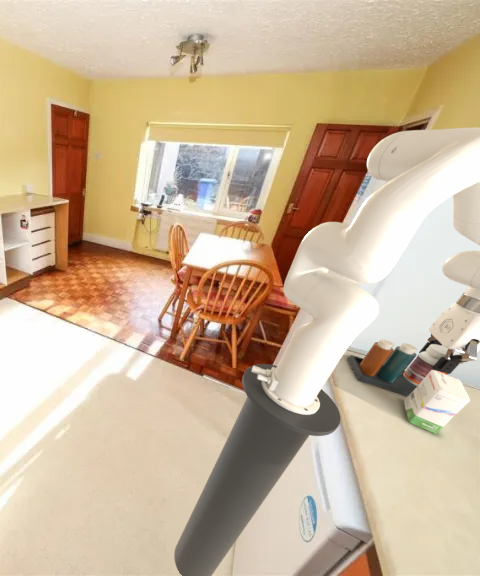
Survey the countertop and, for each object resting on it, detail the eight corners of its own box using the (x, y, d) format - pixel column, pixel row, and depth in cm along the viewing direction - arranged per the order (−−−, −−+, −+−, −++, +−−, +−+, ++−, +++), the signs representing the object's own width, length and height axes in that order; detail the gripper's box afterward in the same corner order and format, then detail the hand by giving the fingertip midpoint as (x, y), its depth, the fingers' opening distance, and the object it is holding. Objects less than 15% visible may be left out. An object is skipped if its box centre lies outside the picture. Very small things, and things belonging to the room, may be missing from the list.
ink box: (436, 435, 63) (473, 400, 57) (407, 422, 66) (439, 387, 60) (429, 412, 69) (461, 379, 63) (402, 401, 71) (431, 368, 66)
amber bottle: (359, 373, 79) (380, 343, 74) (355, 364, 82) (375, 335, 77) (377, 378, 78) (399, 348, 73) (372, 369, 81) (393, 340, 76)
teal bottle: (379, 379, 77) (403, 347, 72) (374, 370, 81) (397, 340, 75) (397, 384, 76) (423, 353, 71) (391, 375, 79) (416, 345, 74)
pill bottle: (427, 393, 71) (457, 360, 66) (397, 376, 76) (423, 345, 71) (437, 387, 74) (467, 355, 68) (408, 371, 79) (433, 340, 73)
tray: (357, 380, 77) (361, 375, 76) (347, 358, 86) (350, 354, 85) (447, 409, 70) (452, 404, 69) (426, 382, 78) (430, 378, 78)
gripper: (440, 288, 72) (400, 341, 80) (484, 318, 58) (431, 378, 66) (480, 296, 69) (434, 350, 77) (537, 329, 55) (474, 391, 64)
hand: (433, 362), depth 72 cm, fingers closed on pill bottle, 6 cm apart
